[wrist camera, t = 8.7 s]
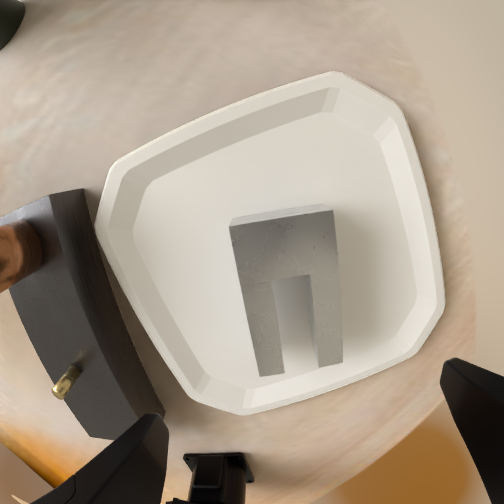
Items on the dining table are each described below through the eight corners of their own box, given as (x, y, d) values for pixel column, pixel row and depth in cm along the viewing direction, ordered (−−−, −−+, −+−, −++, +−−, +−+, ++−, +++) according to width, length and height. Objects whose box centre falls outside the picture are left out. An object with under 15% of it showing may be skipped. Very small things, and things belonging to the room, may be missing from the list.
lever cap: (334, 340, 18) (343, 362, 16) (259, 353, 19) (259, 376, 16) (322, 203, 16) (333, 209, 13) (232, 217, 16) (228, 226, 14)
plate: (89, 183, 18) (72, 186, 16) (370, 68, 15) (382, 58, 13) (211, 407, 23) (208, 425, 21) (436, 326, 21) (449, 339, 18)
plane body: (165, 412, 23) (142, 480, 15) (104, 409, 23) (74, 466, 16) (83, 188, 18) (2, 205, 10) (22, 213, 18) (-50, 237, 10)
